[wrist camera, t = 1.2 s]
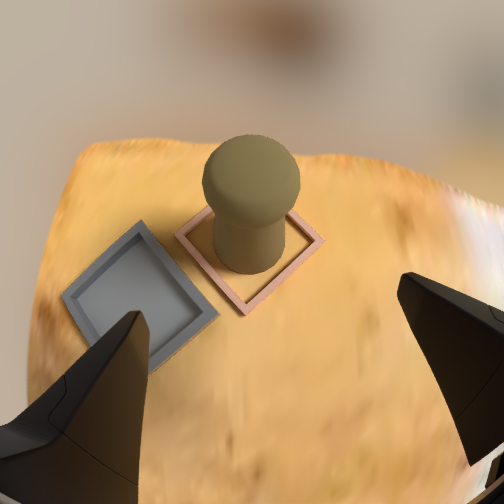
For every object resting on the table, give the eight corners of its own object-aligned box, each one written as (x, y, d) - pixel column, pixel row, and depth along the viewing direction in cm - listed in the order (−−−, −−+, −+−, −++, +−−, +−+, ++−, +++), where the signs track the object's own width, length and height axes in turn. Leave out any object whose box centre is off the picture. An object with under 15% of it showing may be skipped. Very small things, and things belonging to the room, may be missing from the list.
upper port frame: (323, 242, 23) (325, 240, 23) (245, 316, 21) (245, 315, 21) (252, 174, 25) (252, 171, 25) (175, 236, 23) (173, 233, 23)
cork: (246, 289, 22) (246, 246, 12) (198, 236, 23) (165, 160, 13) (299, 242, 23) (338, 170, 13) (252, 194, 25) (256, 103, 14)
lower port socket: (220, 314, 21) (218, 313, 20) (131, 390, 19) (124, 393, 18) (146, 226, 23) (141, 219, 22) (69, 298, 21) (60, 295, 20)
